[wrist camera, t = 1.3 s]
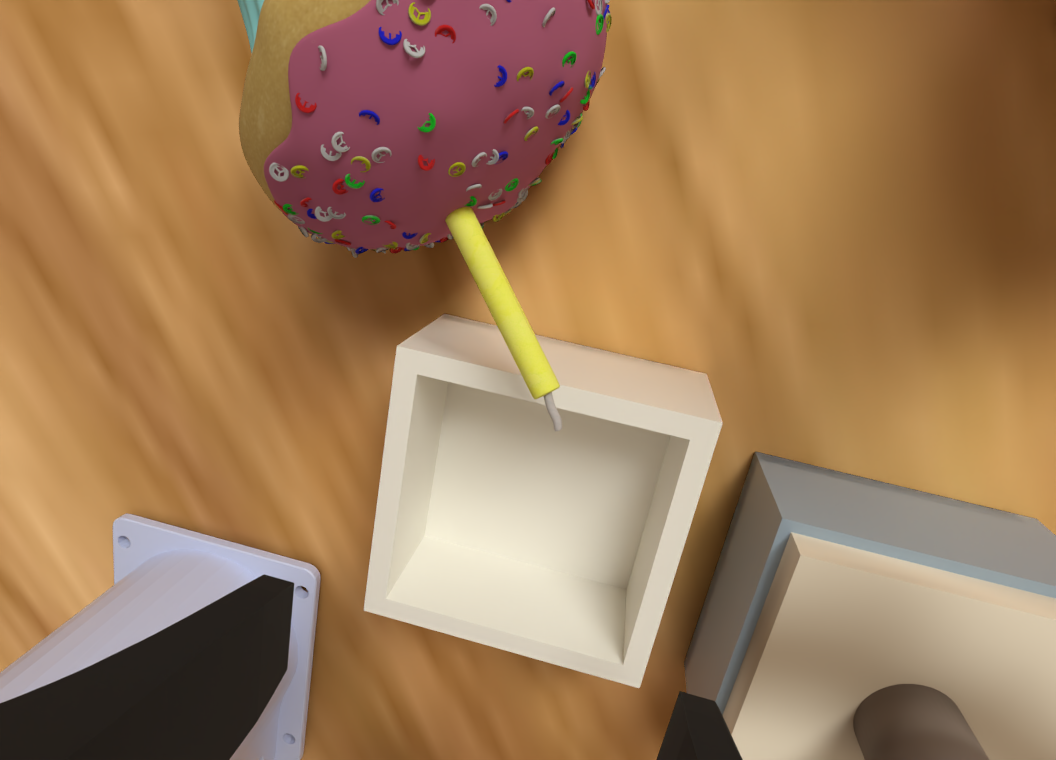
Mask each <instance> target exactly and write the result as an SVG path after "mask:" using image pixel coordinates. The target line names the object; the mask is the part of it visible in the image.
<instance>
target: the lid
mask: <svg viewBox="0 0 1056 760" xmlns="http://www.w3.org/2000/svg"><path fill="white" fill-rule="evenodd" d="M723 718H724V720H725V722H726V724H727V727H728V729H729V731H730V733H731V735H732V738H733V740H734V742H735V744H736V746H737V749H738V751H739V753H740V755H741V757H742V759H743V760H1056V598H1052V597H1048V596H1044V595H1040V594H1036V593H1032V592H1028V591H1024V590H1020V589H1016V588H1012V587H1008V586H1004V585H1000V584H996V583H992V582H988V581H984V580H980V579H976V578H972V577H968V576H964V575H960V574H956V573H952V572H948V571H944V570H940V569H936V568H932V567H928V566H924V565H920V564H916V563H912V562H908V561H904V560H900V559H896V558H892V557H888V556H884V555H880V554H876V553H872V552H868V551H864V550H860V549H856V548H852V547H848V546H844V545H841V544H837V543H833V542H829V541H825V540H821V539H817V538H813V537H809V536H805V535H801V534H797V533H793V532H791V534H790V536H789V539H788V542H787V544H786V547H785V550H784V552H783V555H782V558H781V560H780V563H779V566H778V568H777V571H776V574H775V576H774V579H773V582H772V584H771V587H770V590H769V592H768V595H767V598H766V600H765V603H764V606H763V608H762V611H761V614H760V616H759V619H758V622H757V624H756V627H755V630H754V633H753V635H752V638H751V641H750V643H749V646H748V649H747V651H746V654H745V657H744V659H743V662H742V665H741V667H740V670H739V673H738V675H737V678H736V681H735V683H734V686H733V689H732V691H731V694H730V697H729V699H728V702H727V705H726V707H725V710H724V713H723Z"/></svg>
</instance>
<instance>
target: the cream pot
mask: <svg viewBox="0 0 1056 760" xmlns="http://www.w3.org/2000/svg"><path fill="white" fill-rule="evenodd" d="M535 336H536V338H537V340H538V342H539V344H540V346H541V348H542V350H543V352H544V354H545V356H546V358H547V360H548V362H549V364H550V366H551V368H552V370H553V372H554V374H555V376H556V378H557V380H558V382H559V384H560V387H559V388H558V389H556V390H554V391H552V396H553V400H554V403H555V406H556V409H557V411H558V413H559V415H560V417H561V420H562V429H561V430H560V431H555V430H554V425H553V421H552V419H551V417H550V415H549V413H548V411H547V408H546V405H545V400H544V396H542V397H540V398H538V399H534V398H533V397H532V395H531V393H530V391H529V389H528V387H527V385H526V383H525V381H524V379H523V377H522V375H521V373H520V371H519V369H518V367H517V365H516V363H515V361H514V359H513V357H512V355H511V353H510V351H509V349H508V347H507V345H506V343H505V341H504V338H503V336H502V334H501V332H500V330H499V328H498V326H496V325H491V324H487V323H483V322H478V321H474V320H470V319H465V318H461V317H457V316H452V315H448V314H443V315H442V316H440V317H439V318H437V319H436V320H434V321H433V322H432V323H430V324H429V325H427V326H426V327H424V328H423V329H421V330H420V331H418V332H417V333H415V334H414V335H412V336H411V337H409V338H408V339H406V340H405V341H403V342H402V343H400V344H399V345H397V349H396V357H395V365H394V373H393V381H392V389H391V397H390V405H389V413H388V420H387V428H386V436H385V444H384V452H383V460H382V468H381V476H380V484H379V492H378V500H377V508H376V516H375V524H374V532H373V539H372V547H371V555H370V563H369V571H368V579H367V587H366V595H365V603H364V611H367V612H371V613H374V614H378V615H382V616H385V617H389V618H392V619H396V620H399V621H403V622H406V623H410V624H413V625H417V626H420V627H424V628H428V629H431V630H435V631H438V632H442V633H445V634H449V635H452V636H456V637H459V638H463V639H466V640H470V641H474V642H477V643H481V644H484V645H488V646H491V647H495V648H498V649H502V650H505V651H509V652H512V653H516V654H520V655H523V656H527V657H530V658H534V659H537V660H541V661H544V662H548V663H551V664H555V665H558V666H562V667H566V668H569V669H573V670H576V671H580V672H583V673H587V674H590V675H594V676H597V677H601V678H605V679H608V680H612V681H615V682H619V683H622V684H626V685H629V686H633V687H636V688H640V685H641V682H642V679H643V676H644V672H645V669H646V666H647V663H648V660H649V656H650V653H651V650H652V647H653V644H654V641H655V637H656V634H657V631H658V628H659V625H660V621H661V618H662V615H663V612H664V609H665V605H666V602H667V599H668V596H669V593H670V589H671V586H672V583H673V580H674V577H675V573H676V570H677V567H678V564H679V561H680V558H681V554H682V551H683V548H684V545H685V542H686V538H687V535H688V532H689V529H690V526H691V522H692V519H693V516H694V513H695V510H696V506H697V503H698V500H699V497H700V494H701V490H702V487H703V484H704V481H705V478H706V474H707V471H708V468H709V465H710V462H711V459H712V455H713V452H714V449H715V446H716V443H717V439H718V436H719V433H720V430H721V427H722V423H723V422H722V419H721V416H720V413H719V410H718V407H717V404H716V401H715V398H714V395H713V392H712V389H711V385H710V382H709V379H708V376H707V374H705V373H701V372H697V371H692V370H688V369H684V368H679V367H675V366H671V365H666V364H662V363H657V362H653V361H649V360H644V359H640V358H636V357H631V356H627V355H623V354H618V353H614V352H609V351H605V350H601V349H596V348H592V347H588V346H583V345H579V344H574V343H570V342H566V341H561V340H557V339H553V338H548V337H544V336H540V335H535Z"/></svg>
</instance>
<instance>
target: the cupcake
mask: <svg viewBox="0 0 1056 760" xmlns="http://www.w3.org/2000/svg"><path fill="white" fill-rule="evenodd" d="M609 1H610V0H238V3H239V7H240V10H241V13H242V17H243V20H244V23H245V27H246V31H247V34H248V38H249V42H250V47H251V53H252V55H251V59H250V63H249V66H248V70H247V74H246V79H245V84H244V90H243V96H242V102H241V109H240V117H239V134H240V141H241V146H242V150H243V153H244V156H245V159H246V161H247V163H248V165H249V167H250V169H251V171H252V173H253V174H254V176H255V178H256V180H257V181H258V183H259V184H260V186H261V187H262V189H263V190H264V192H265V193H266V194H267V196H268V197H269V199H270V200H271V201H272V202H273V203H274V205H275V206H276V207H277V208H278V209H279V210H280V211H282V212H283V214H284V215H285V216H286V217H287V218H288V219H290V220H291V221H292V222H293V223H295V224H296V225H298V228H299V229H300V231H301V232H302V234H303V235H304V236H305V237H308V236H309V235H308V233H310V234H312V235H311V238H312V240H313V241H315V242H318V243H321V242H325V243H326V244H333V243H336V244H339V245H342V246H345V247H347V249H348V250H349V251H351V252H352V255H353V257H355V258H356V257H358V254H360V253H363V252H365V251H367V250H368V249H370V250H374V251H376V252H383V253H386V251H385V250H388V249H389V248H390V252H391V253H398V252H400V251H401V250H404V251H410V250H417V249H419V246H422V245H424V246H426V247H429V248H432V247H434V243H433V242H445V241H447V240H448V239H453V238H454V240H455V242H456V244H457V246H458V248H459V250H460V252H461V254H462V256H463V258H464V260H465V262H466V264H467V266H468V268H469V270H470V272H471V274H472V276H473V278H474V280H475V282H476V284H477V286H478V288H479V290H480V292H481V294H482V296H483V298H484V300H485V302H486V304H487V306H488V308H489V310H490V312H491V314H492V316H493V318H494V320H495V322H496V324H497V326H498V328H499V330H500V332H501V334H502V336H503V338H504V341H505V343H506V345H507V347H508V349H509V351H510V353H511V355H512V357H513V359H514V361H515V363H516V365H517V367H518V369H519V371H520V373H521V375H522V377H523V379H524V381H525V383H526V385H527V387H528V389H529V391H530V393H531V395H532V397H533V398H534V399H538V398H540V397H542V396H544V400H545V405H546V408H547V411H548V413H549V415H550V417H551V419H552V421H553V425H554V430H555V431H560V430H561V429H562V420H561V417H560V415H559V413H558V411H557V409H556V406H555V403H554V400H553V396H552V391H554V390H556V389H558V388H559V387H560V384H559V382H558V380H557V378H556V376H555V374H554V372H553V370H552V368H551V366H550V364H549V362H548V360H547V358H546V356H545V354H544V352H543V350H542V348H541V346H540V344H539V342H538V340H537V338H536V336H535V334H534V332H533V330H532V328H531V326H530V324H529V322H528V320H527V318H526V316H525V314H524V312H523V310H522V308H521V306H520V304H519V302H518V300H517V298H516V296H515V294H514V292H513V290H512V288H511V286H510V284H509V282H508V280H507V278H506V276H505V274H504V272H503V270H502V268H501V266H500V264H499V262H498V260H497V258H496V256H495V254H494V252H493V250H492V248H491V246H490V244H489V242H488V240H487V238H486V236H485V234H484V232H483V230H482V228H483V227H484V223H483V222H485V221H488V220H491V219H493V221H494V222H497V221H499V220H500V219H501V218H502V217H503V216H504V215H506V214H508V213H509V212H511V209H513V208H516V207H517V206H519V205H520V204H521V202H522V201H524V200H525V199H526V197H527V195H528V189H529V188H530V186H532V185H536V184H538V183H540V182H541V179H540V178H538V176H539V175H540V174H541V172H542V171H543V170H544V168H545V167H546V165H548V164H549V163H550V162H551V160H553V159H555V158H556V156H557V152H558V148H559V145H560V144H561V146H560V147H561V148H563V146H564V143H565V141H566V140H567V139H568V138H569V137H570V135H571V134H573V133H575V132H576V130H577V127H579V126H580V124H581V121H582V119H583V117H582V112H583V110H584V111H587V110H588V108H589V99H590V97H591V95H592V93H593V91H594V88H595V86H596V85H597V83H598V81H599V79H600V77H601V76H602V74H603V73H604V71H605V69H606V68H605V67H603V68H602V63H603V58H604V52H605V45H606V37H607V32H608V31H609V29H610V26H611V14H610V11H609V10H608V8H609V5H607V4H608V3H609ZM601 68H602V69H601ZM572 127H574V129H573V130H572ZM497 216H498V218H496V217H497ZM480 224H481V225H480ZM315 236H316V237H318V239H316V237H315ZM444 238H445V239H444ZM319 239H320V240H319ZM428 244H430V245H428ZM350 248H351V249H350ZM360 249H362V250H361V251H359V250H360ZM393 249H394V250H393ZM396 249H398V250H396Z"/></svg>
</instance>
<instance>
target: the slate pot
mask: <svg viewBox="0 0 1056 760" xmlns="http://www.w3.org/2000/svg"><path fill="white" fill-rule="evenodd" d="M791 532H793V533H797V534H801V535H805V536H809V537H813V538H817V539H821V540H825V541H829V542H833V543H837V544H841V545H844V546H848V547H852V548H856V549H860V550H864V551H868V552H872V553H876V554H880V555H884V556H888V557H892V558H896V559H900V560H904V561H908V562H912V563H916V564H920V565H924V566H928V567H932V568H936V569H940V570H944V571H948V572H952V573H956V574H960V575H964V576H968V577H972V578H976V579H980V580H984V581H988V582H992V583H996V584H1000V585H1004V586H1008V587H1012V588H1016V589H1020V590H1024V591H1028V592H1032V593H1036V594H1040V595H1044V596H1048V597H1052V598H1056V535H1055V534H1053V533H1052V532H1051V531H1050V530H1049V529H1048V528H1046V527H1045V526H1044V525H1043V524H1042V523H1041V522H1039V521H1038V520H1037V519H1035V518H1030V517H1026V516H1022V515H1018V514H1014V513H1010V512H1005V511H1001V510H997V509H993V508H989V507H984V506H980V505H976V504H972V503H968V502H964V501H959V500H955V499H951V498H947V497H943V496H939V495H934V494H930V493H926V492H922V491H918V490H914V489H909V488H905V487H901V486H897V485H893V484H889V483H884V482H880V481H876V480H872V479H868V478H863V477H859V476H855V475H851V474H847V473H843V472H838V471H834V470H830V469H826V468H822V467H818V466H813V465H809V464H805V463H801V462H797V461H793V460H788V459H784V458H780V457H776V456H772V455H767V454H763V453H759V452H755V453H754V456H753V459H752V462H751V465H750V468H749V471H748V474H747V477H746V480H745V483H744V486H743V489H742V492H741V495H740V498H739V501H738V504H737V507H736V510H735V513H734V516H733V518H732V521H731V524H730V527H729V530H728V533H727V536H726V539H725V542H724V545H723V548H722V551H721V554H720V557H719V560H718V563H717V566H716V569H715V572H714V575H713V578H712V581H711V584H710V587H709V590H708V593H707V596H706V599H705V602H704V605H703V608H702V611H701V614H700V617H699V619H698V622H697V625H696V628H695V631H694V634H693V637H692V640H691V643H690V646H689V649H688V652H687V655H686V658H685V661H684V667H685V678H686V690H687V693H688V694H692V695H695V696H699V697H702V698H706V699H709V700H713V701H715V702H716V704H717V705H718V707H719V709H720V711H721V713H722V715H723V713H724V710H725V707H726V705H727V702H728V699H729V697H730V694H731V691H732V689H733V686H734V683H735V681H736V678H737V675H738V673H739V670H740V667H741V665H742V662H743V659H744V657H745V654H746V651H747V649H748V646H749V643H750V641H751V638H752V635H753V633H754V630H755V627H756V624H757V622H758V619H759V616H760V614H761V611H762V608H763V606H764V603H765V600H766V598H767V595H768V592H769V590H770V587H771V584H772V582H773V579H774V576H775V574H776V571H777V568H778V566H779V563H780V560H781V558H782V555H783V552H784V550H785V547H786V544H787V542H788V539H789V536H790V534H791Z"/></svg>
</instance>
